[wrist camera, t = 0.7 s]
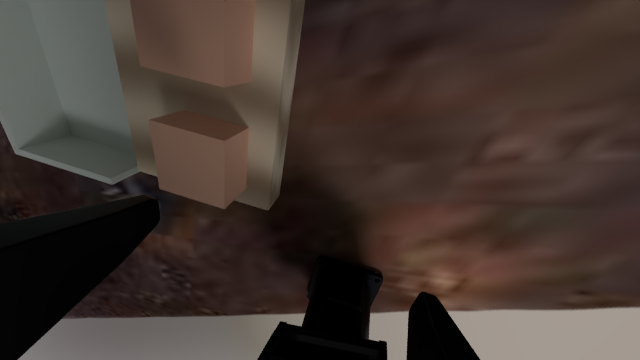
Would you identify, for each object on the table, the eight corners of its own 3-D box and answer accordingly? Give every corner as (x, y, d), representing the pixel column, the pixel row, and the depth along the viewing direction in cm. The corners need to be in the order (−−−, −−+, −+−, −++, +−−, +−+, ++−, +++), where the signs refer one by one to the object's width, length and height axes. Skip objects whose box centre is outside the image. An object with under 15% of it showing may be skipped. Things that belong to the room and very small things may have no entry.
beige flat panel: (279, 195, 22) (268, 210, 20) (161, 159, 23) (138, 170, 21) (309, -33, 14) (295, -48, 12) (128, -67, 15) (87, -87, 13)
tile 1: (251, 82, 15) (224, 87, 13) (180, 64, 16) (140, 66, 13) (256, -18, 13) (223, -36, 10) (171, -35, 13) (120, -56, 11)
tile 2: (246, 188, 19) (224, 209, 17) (189, 171, 20) (159, 188, 17) (249, 127, 17) (224, 141, 14) (184, 110, 17) (148, 119, 15)
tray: (157, 163, 23) (112, 184, 20) (73, 137, 24) (15, 153, 21) (120, -79, 15) (29, -125, 11) (-4, -102, 16) (-126, -151, 12)
